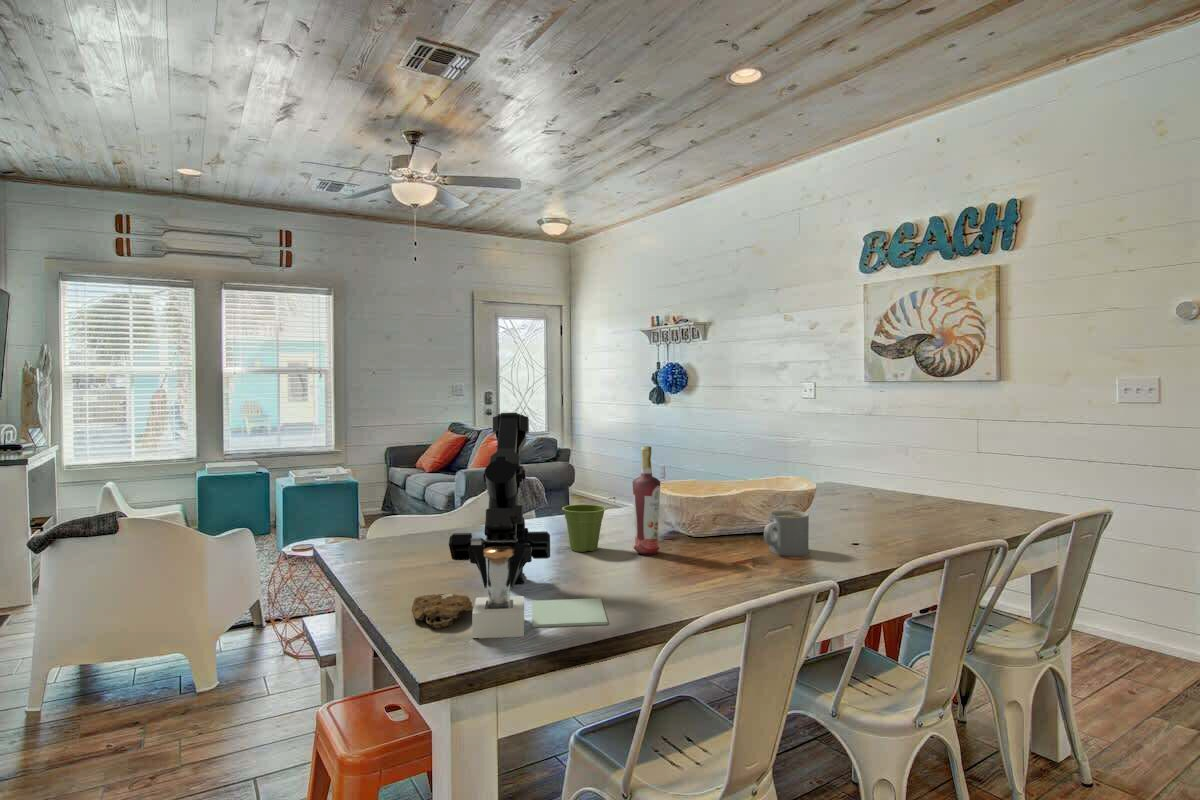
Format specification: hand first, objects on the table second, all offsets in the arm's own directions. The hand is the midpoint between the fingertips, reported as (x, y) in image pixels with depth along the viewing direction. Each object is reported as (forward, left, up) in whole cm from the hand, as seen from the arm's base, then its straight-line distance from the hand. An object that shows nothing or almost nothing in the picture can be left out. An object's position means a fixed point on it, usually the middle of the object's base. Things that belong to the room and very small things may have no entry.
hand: (498, 586), depth 125 cm
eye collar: (-1, 0, -8) cm, 8 cm away
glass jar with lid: (-1, 0, -7) cm, 7 cm away
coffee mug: (-50, +72, -8) cm, 88 cm away
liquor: (-53, +36, -8) cm, 65 cm away
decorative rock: (-9, -11, -9) cm, 17 cm away
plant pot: (-59, +20, -8) cm, 63 cm away
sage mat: (-8, +13, -8) cm, 17 cm away
